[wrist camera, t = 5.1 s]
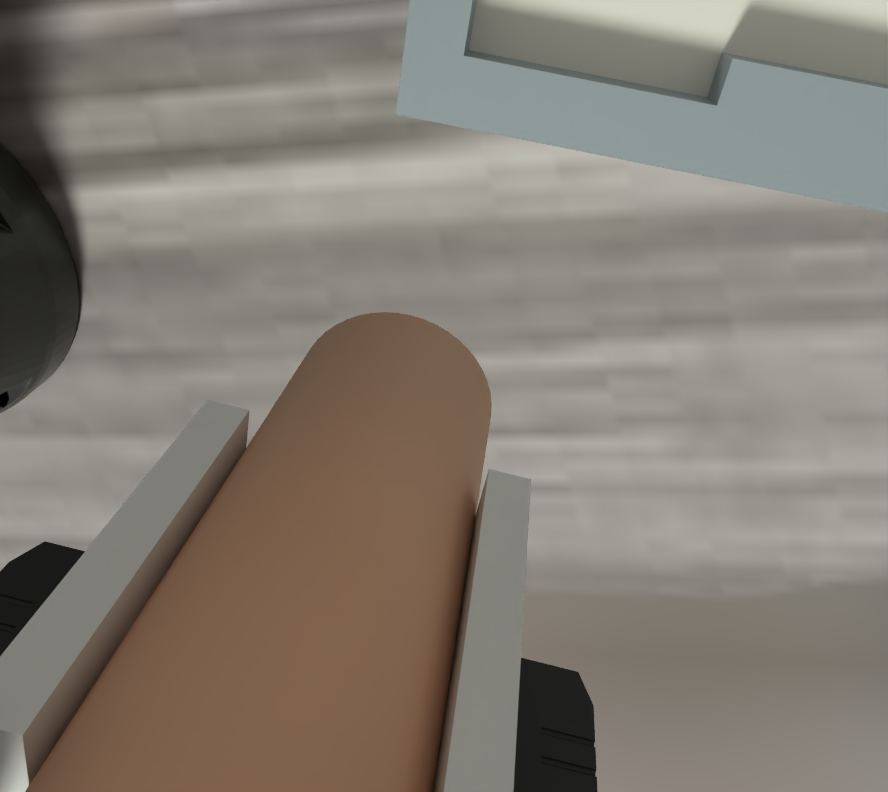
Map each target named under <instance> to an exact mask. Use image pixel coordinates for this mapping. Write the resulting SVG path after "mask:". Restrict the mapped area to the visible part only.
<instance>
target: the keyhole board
mask: <svg viewBox="0 0 888 792" xmlns="http://www.w3.org/2000/svg"><path fill="white" fill-rule="evenodd" d="M396 114H397V115H402V116H407V117H412V118H417V119H422V120H427V121H432V122H437V123H442V124H447V125H452V126H457V127H462V128H467V129H472V130H477V131H482V132H487V133H492V134H497V135H502V136H507V137H512V138H517V139H522V140H527V141H532V142H537V143H542V144H547V145H552V146H557V147H562V148H567V149H572V150H577V151H582V152H587V153H592V154H597V155H602V156H607V157H612V158H617V159H622V160H627V161H632V162H637V163H642V164H647V165H652V166H657V167H662V168H667V169H672V170H678V171H683V172H688V173H693V174H698V175H703V176H708V177H713V178H718V179H723V180H728V181H733V182H738V183H743V184H748V185H753V186H758V187H763V188H768V189H773V190H778V191H783V192H788V193H793V194H798V195H803V196H808V197H813V198H818V199H823V200H828V201H833V202H838V203H843V204H848V205H853V206H858V207H863V208H868V209H873V210H878V211H883V212H888V0H410V4H409V12H408V20H407V28H406V36H405V44H404V51H403V59H402V67H401V75H400V83H399V91H398V99H397V106H396Z"/></svg>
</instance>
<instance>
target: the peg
mask: <svg viewBox="0 0 888 792" xmlns="http://www.w3.org/2000/svg"><path fill="white" fill-rule="evenodd" d="M490 418H491V395H490V390H489V386H488V382H487V380H486V377H485V375H484V372H483V370H482V368H481V367H480V365H479V363H478V362H477V360H476V359H475V357H474V356H473V355H472V353H471V352H470V351H469V350H468V349H467V348H466V347H465V346H464V345H463V344H462V343H461V342H460V341H459V340H458V339H457V338H455V337H454V336H453V335H452V334H450V333H449V332H447V331H446V330H444V329H442V328H441V327H439V326H437V325H435V324H433V323H431V322H428V321H426V320H424V319H421V318H417V317H414V316H411V315H405V314H399V313H386V312H383V313H370V314H365V315H360V316H356V317H353V318H350V319H347V320H345V321H343V322H341V323H339V324H337V325H335V326H334V327H332V328H331V329H329V330H328V331H327V332H325V333H324V334H323V335H322V336H321V337H320V338H319V339H318V340H317V341H316V342H315V344H314V345H313V346H312V348H311V349H310V350H309V352H308V353H307V355H306V357H305V358H304V360H303V361H302V363H301V364H300V366H299V367H298V369H297V371H296V372H295V374H294V375H293V377H292V378H291V380H290V381H289V383H288V384H287V386H286V388H285V389H284V391H283V392H282V394H281V395H280V397H279V398H278V400H277V402H276V403H275V405H274V406H273V408H272V409H271V411H270V412H269V414H268V416H267V417H266V419H265V420H264V422H263V423H262V425H261V426H260V428H259V429H258V431H257V433H256V434H255V436H254V437H253V439H252V440H251V442H250V443H249V445H248V447H247V448H246V450H245V451H244V453H243V454H242V456H241V457H240V459H239V461H238V462H237V464H236V465H235V467H234V468H233V470H232V471H231V473H230V474H229V476H228V478H227V479H226V481H225V482H224V484H223V485H222V487H221V488H220V490H219V492H218V493H217V495H216V496H215V498H214V499H213V501H212V502H211V504H210V506H209V507H208V509H207V510H206V512H205V513H204V515H203V516H202V518H201V519H200V521H199V523H198V524H197V526H196V527H195V529H194V530H193V532H192V533H191V535H190V537H189V538H188V540H187V541H186V543H185V544H184V546H183V547H182V549H181V550H180V552H179V554H178V555H177V557H176V558H175V560H174V561H173V563H172V564H171V566H170V568H169V569H168V571H167V572H166V574H165V575H164V577H163V578H162V580H161V582H160V583H159V585H158V586H157V588H156V589H155V591H154V592H153V594H152V595H151V597H150V599H149V600H148V602H147V603H146V605H145V606H144V608H143V609H142V611H141V613H140V614H139V616H138V617H137V619H136V620H135V622H134V623H133V625H132V627H131V628H130V630H129V631H128V633H127V634H126V636H125V637H124V639H123V640H122V642H121V644H120V645H119V647H118V648H117V650H116V651H115V653H114V654H113V656H112V658H111V659H110V661H109V662H108V664H107V665H106V667H105V668H104V670H103V671H102V673H101V675H100V676H99V678H98V679H97V681H96V682H95V684H94V685H93V687H92V689H91V690H90V692H89V693H88V695H87V696H86V698H85V699H84V701H83V703H82V704H81V706H80V707H79V709H78V710H77V712H76V713H75V715H74V716H73V718H72V720H71V721H70V723H69V724H68V726H67V727H66V729H65V730H64V732H63V734H62V735H61V737H60V738H59V740H58V741H57V743H56V744H55V746H54V748H53V749H52V751H51V752H50V754H49V755H48V757H47V758H46V760H45V761H44V763H43V765H42V766H41V768H40V769H39V771H38V772H37V774H36V775H35V777H34V779H33V780H32V782H31V783H30V785H29V786H28V788H27V789H26V791H25V792H433V789H434V783H435V776H436V770H437V763H438V757H439V750H440V744H441V737H442V731H443V724H444V718H445V711H446V705H447V698H448V692H449V685H450V679H451V672H452V666H453V659H454V652H455V646H456V639H457V633H458V626H459V620H460V613H461V607H462V600H463V594H464V587H465V581H466V574H467V568H468V561H469V555H470V548H471V542H472V535H473V529H474V522H475V516H476V510H477V504H478V497H479V491H480V484H481V477H482V471H483V464H484V458H485V451H486V445H487V438H488V432H489V425H490Z"/></svg>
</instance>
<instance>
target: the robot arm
mask: <svg viewBox="0 0 888 792" xmlns="http://www.w3.org/2000/svg"><path fill="white" fill-rule="evenodd" d="M78 312H79V295H78V285H77V277H76V272H75V268H74V264H73V260H72V256H71V253H70V250H69V247H68V244H67V242H66V239H65V237H64V234H63V232H62V230H61V228H60V225H59V223H58V221H57V219H56V217H55V215H54V214H53V212H52V210H51V208H50V207H49V205H48V203H47V202H46V200H45V199H44V197H43V195H42V194H41V192H40V191H39V189H38V188H37V187H36V185H35V184H34V183H33V181H32V180H31V178H30V177H29V176H28V175H27V174H26V172H25V171H24V170H23V169H22V167H21V166H20V165H19V164H18V163H17V162H16V161H15V160H14V158H13V157H12V156H11V155H10V154H9V153H8V152H7V151H6V150H5V149H4V148H3V147H2V146H1V145H0V413H2V412H4V411H5V410H7V409H9V408H11V407H12V406H14V405H16V404H17V403H19V402H20V401H21V400H22V399H24V398H25V397H26V396H27V395H29V394H30V393H31V392H32V391H34V390H35V389H36V388H37V387H38V386H40V385H41V384H42V383H43V382H44V381H46V380H47V379H48V378H49V377H50V376H51V375H52V374H53V373H54V372H55V371H56V370H57V369H58V367H59V366H60V365H61V363H62V362H63V360H64V359H65V357H66V355H67V353H68V351H69V349H70V347H71V344H72V342H73V338H74V335H75V331H76V327H77V321H78ZM248 419H249V410H246V409H242V408H238V407H234V406H230V405H226V404H222V403H218V402H214V401H209V400H207V402H206V403H205V404H204V405H203V407H202V408H201V409H200V410H199V411H198V413H197V414H196V415H195V416H194V418H193V419H192V420H191V421H190V423H189V424H188V425H187V426H186V428H185V429H184V430H183V431H182V432H181V434H180V435H179V436H178V437H177V439H176V440H175V441H174V442H173V444H172V445H171V446H170V447H169V449H168V450H167V451H166V452H165V453H164V455H163V456H162V457H161V458H160V460H159V461H158V462H157V463H156V465H155V466H154V467H153V468H152V470H151V471H150V472H149V473H148V474H147V476H146V477H145V478H144V479H143V481H142V482H141V483H140V484H139V486H138V487H137V488H136V489H135V491H134V492H133V493H132V494H131V495H130V497H129V498H128V499H127V500H126V502H125V503H124V504H123V505H122V507H121V508H120V509H119V510H118V512H117V513H116V514H115V515H114V516H113V518H112V519H111V520H110V521H109V523H108V524H107V525H106V526H105V528H104V529H103V530H102V531H101V533H100V534H99V535H98V536H97V537H96V539H95V540H94V541H93V542H92V544H91V545H90V546H89V547H88V549H87V550H86V551H81V550H77V549H73V548H69V547H65V546H61V545H57V544H53V543H49V542H43V543H41V544H40V545H38V546H36V547H35V548H33V549H31V550H29V551H28V552H26V553H24V554H22V555H21V556H19V557H17V558H15V559H14V560H12V561H10V562H9V563H8V564H7V565H6V566H5V567H4V568H3V569H2V570H1V571H0V792H25V791H26V789H27V788H28V786H29V785H30V783H31V782H32V780H33V779H34V777H35V775H36V774H37V772H38V771H39V769H40V768H41V766H42V765H43V763H44V761H45V760H46V758H47V757H48V755H49V754H50V752H51V751H52V749H53V748H54V746H55V744H56V743H57V741H58V740H59V738H60V737H61V735H62V734H63V732H64V730H65V729H66V727H67V726H68V724H69V723H70V721H71V720H72V718H73V716H74V715H75V713H76V712H77V710H78V709H79V707H80V706H81V704H82V703H83V701H84V699H85V698H86V696H87V695H88V693H89V692H90V690H91V689H92V687H93V685H94V684H95V682H96V681H97V679H98V678H99V676H100V675H101V673H102V671H103V670H104V668H105V667H106V665H107V664H108V662H109V661H110V659H111V658H112V656H113V654H114V653H115V651H116V650H117V648H118V647H119V645H120V644H121V642H122V640H123V639H124V637H125V636H126V634H127V633H128V631H129V630H130V628H131V627H132V625H133V623H134V622H135V620H136V619H137V617H138V616H139V614H140V613H141V611H142V609H143V608H144V606H145V605H146V603H147V602H148V600H149V599H150V597H151V595H152V594H153V592H154V591H155V589H156V588H157V586H158V585H159V583H160V582H161V580H162V578H163V577H164V575H165V574H166V572H167V571H168V569H169V568H170V566H171V564H172V563H173V561H174V560H175V558H176V557H177V555H178V554H179V552H180V550H181V549H182V547H183V546H184V544H185V543H186V541H187V540H188V538H189V537H190V535H191V533H192V532H193V530H194V529H195V527H196V526H197V524H198V523H199V521H200V519H201V518H202V516H203V515H204V513H205V512H206V510H207V509H208V507H209V506H210V504H211V502H212V501H213V499H214V498H215V496H216V495H217V493H218V492H219V490H220V488H221V487H222V485H223V484H224V482H225V481H226V479H227V478H228V476H229V474H230V473H231V471H232V470H233V468H234V467H235V465H236V464H237V462H238V461H239V459H240V457H241V456H242V454H243V453H244V451H245V450H246V443H247V431H248ZM530 487H531V479H527V478H523V477H519V476H515V475H511V474H507V473H503V472H499V471H495V470H491V469H489V471H488V474H487V478H486V481H485V485H484V488H483V492H482V495H481V499H480V502H479V505H478V509H477V512H476V516H475V522H474V529H473V535H472V542H471V548H470V555H469V561H468V568H467V574H466V581H465V587H464V594H463V600H462V607H461V613H460V620H459V626H458V633H457V639H456V646H455V652H454V659H453V666H452V672H451V679H450V685H449V692H448V698H447V705H446V711H445V718H444V724H443V731H442V737H441V744H440V750H439V757H438V763H437V770H436V776H435V783H434V789H433V792H597V777H595V772H596V752H595V747H594V742H595V730H594V710H593V709H594V708H593V704H592V701H591V699H590V697H589V695H588V693H587V691H586V689H585V686H584V684H583V682H582V680H581V677H580V675H579V673H578V672H576V671H572V670H568V669H564V668H560V667H556V666H552V665H547V664H544V663H539V662H536V661H532V660H527V659H524V658H521V647H522V629H523V610H524V593H525V576H526V558H527V540H528V522H529V504H530Z"/></svg>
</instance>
